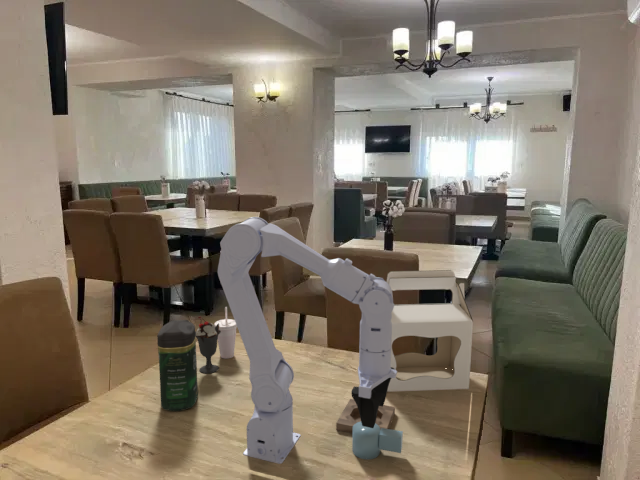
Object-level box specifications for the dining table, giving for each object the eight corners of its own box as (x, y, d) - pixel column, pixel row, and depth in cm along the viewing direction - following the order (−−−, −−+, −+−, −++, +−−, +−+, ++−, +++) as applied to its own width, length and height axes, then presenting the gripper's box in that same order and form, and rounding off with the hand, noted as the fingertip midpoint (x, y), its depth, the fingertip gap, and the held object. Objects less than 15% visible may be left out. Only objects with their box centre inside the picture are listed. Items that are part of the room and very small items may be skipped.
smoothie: (241, 351, 132) (239, 304, 130) (235, 361, 126) (233, 312, 124) (219, 350, 133) (217, 303, 130) (212, 360, 127) (210, 311, 124)
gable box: (378, 394, 109) (380, 279, 104) (368, 368, 122) (370, 265, 117) (470, 390, 110) (477, 277, 105) (451, 365, 123) (456, 263, 118)
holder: (384, 442, 90) (385, 432, 90) (336, 431, 94) (336, 422, 93) (394, 415, 100) (394, 407, 99) (350, 407, 103) (350, 398, 103)
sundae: (190, 373, 119) (187, 317, 116) (204, 362, 125) (202, 309, 123) (213, 376, 117) (211, 320, 114) (226, 365, 123) (224, 311, 121)
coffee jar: (195, 411, 101) (191, 331, 98) (158, 414, 100) (152, 333, 97) (200, 389, 111) (197, 316, 107) (166, 392, 110) (161, 317, 106)
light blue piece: (349, 458, 86) (349, 434, 85) (355, 442, 90) (355, 419, 90) (399, 468, 83) (400, 443, 82) (402, 450, 88) (403, 426, 87)
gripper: (388, 366, 76) (386, 441, 78) (404, 334, 89) (401, 399, 91) (347, 360, 78) (346, 433, 80) (368, 330, 91) (367, 393, 94)
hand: (373, 415), depth 86 cm, fingers open, 7 cm apart
